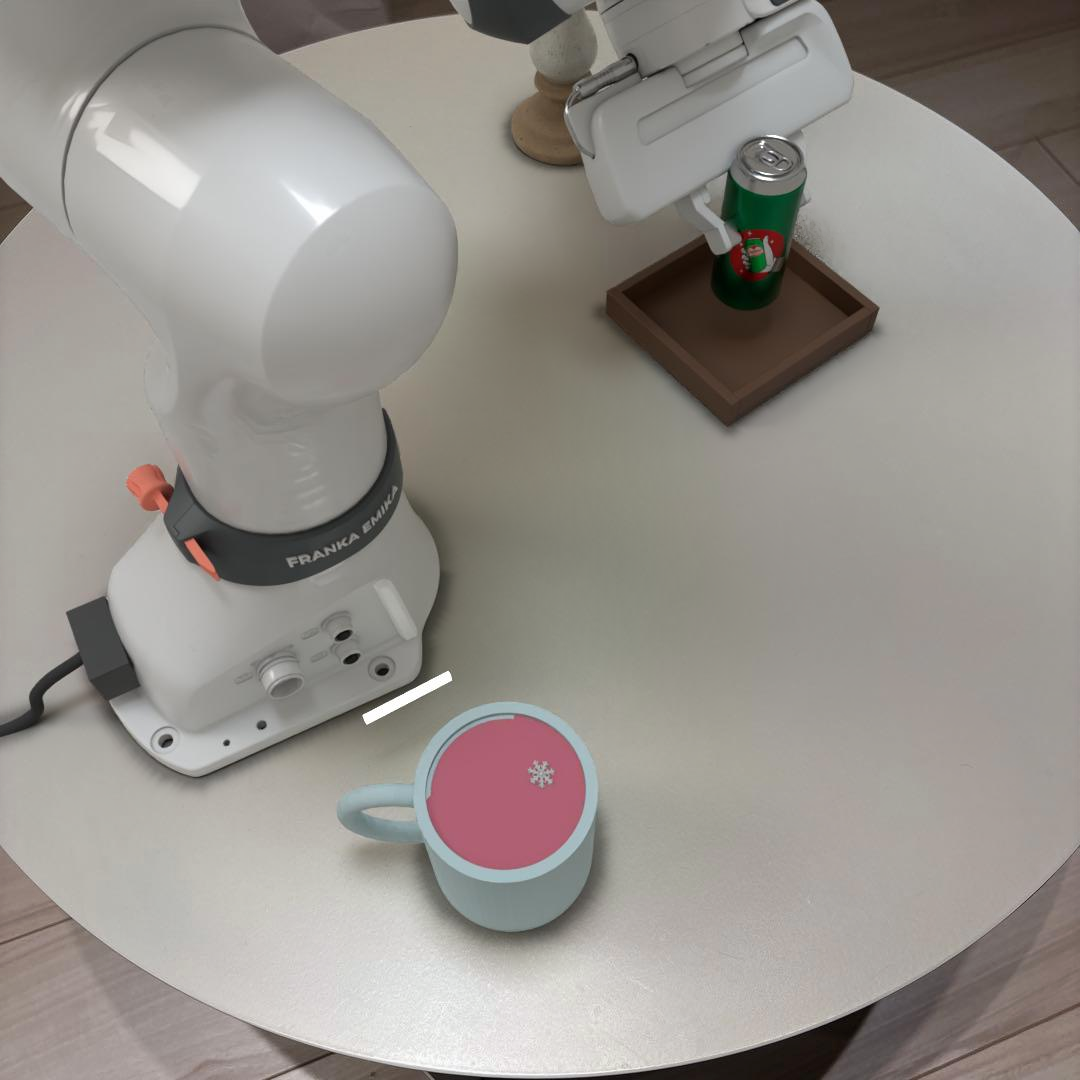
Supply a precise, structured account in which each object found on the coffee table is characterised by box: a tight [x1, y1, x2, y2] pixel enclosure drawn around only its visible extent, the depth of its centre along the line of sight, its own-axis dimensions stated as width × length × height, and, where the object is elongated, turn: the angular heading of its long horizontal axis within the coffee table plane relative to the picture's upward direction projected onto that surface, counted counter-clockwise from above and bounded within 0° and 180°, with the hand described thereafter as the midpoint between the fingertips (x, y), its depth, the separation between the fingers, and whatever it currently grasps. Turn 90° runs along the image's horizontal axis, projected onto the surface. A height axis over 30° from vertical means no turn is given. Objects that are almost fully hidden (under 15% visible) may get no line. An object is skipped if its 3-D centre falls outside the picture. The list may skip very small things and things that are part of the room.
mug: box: [335, 701, 599, 933], centre depth 61 cm, size 14×9×10 cm
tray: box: [605, 233, 880, 427], centre depth 85 cm, size 15×14×2 cm
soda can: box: [710, 135, 808, 311], centre depth 78 cm, size 5×5×12 cm
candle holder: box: [510, 7, 599, 166], centre depth 88 cm, size 9×9×20 cm
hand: (764, 228), depth 77 cm, fingers closed on soda can, 5 cm apart
